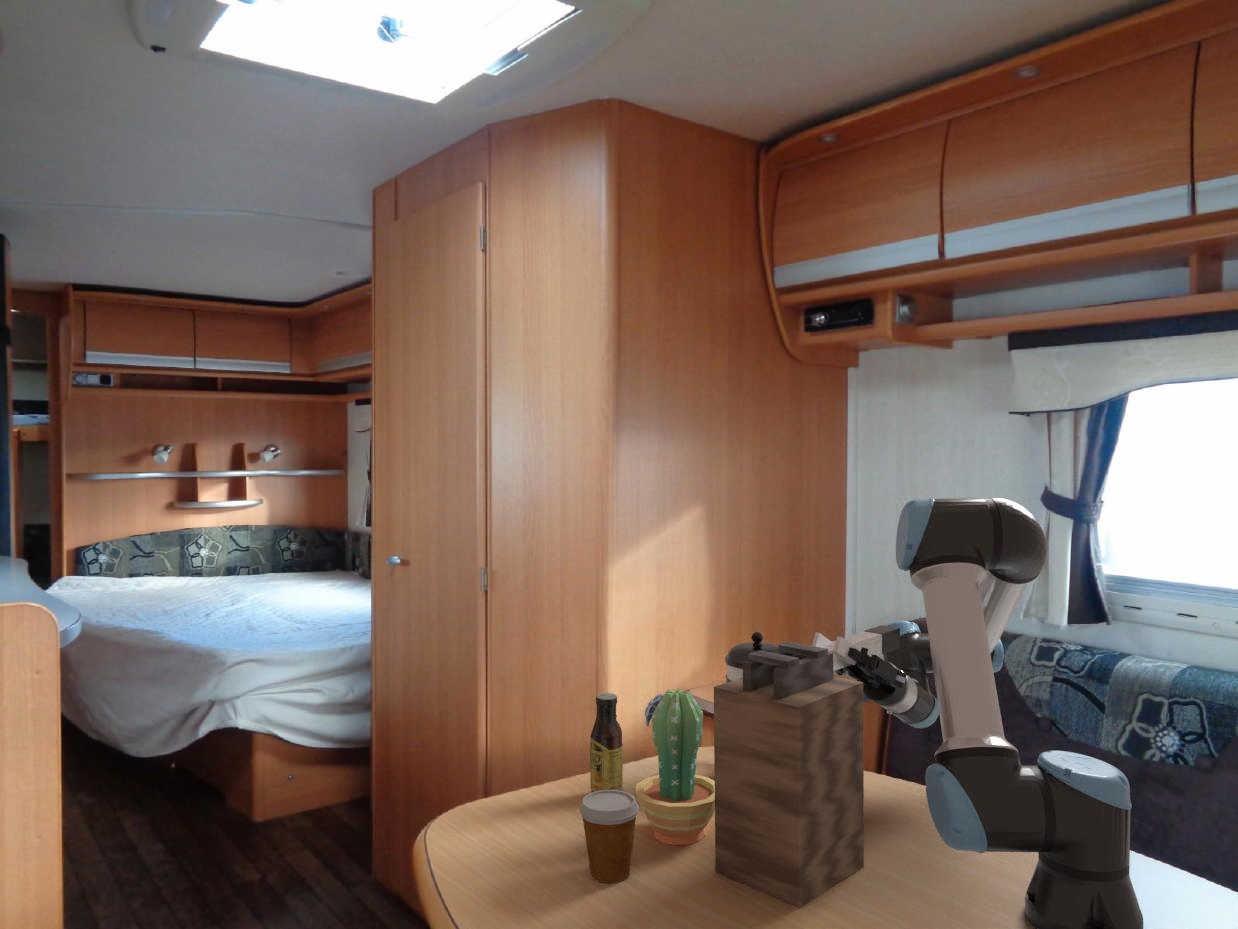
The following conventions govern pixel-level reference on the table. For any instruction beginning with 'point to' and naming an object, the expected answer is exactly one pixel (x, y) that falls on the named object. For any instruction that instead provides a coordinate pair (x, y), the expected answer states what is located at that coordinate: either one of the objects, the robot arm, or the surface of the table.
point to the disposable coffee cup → (609, 833)
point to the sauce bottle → (606, 746)
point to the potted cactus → (676, 771)
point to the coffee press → (745, 655)
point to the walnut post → (789, 774)
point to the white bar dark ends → (867, 643)
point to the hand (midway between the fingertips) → (826, 642)
